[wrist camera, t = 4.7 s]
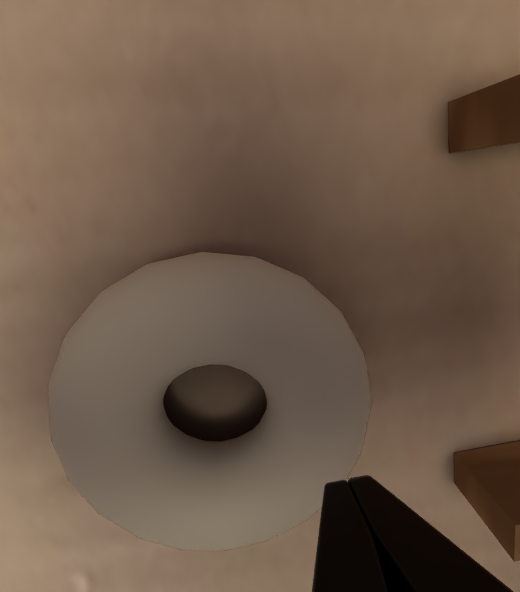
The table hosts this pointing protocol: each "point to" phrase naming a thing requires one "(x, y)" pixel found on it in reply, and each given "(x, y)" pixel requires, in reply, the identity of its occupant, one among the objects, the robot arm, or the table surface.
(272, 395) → the donut
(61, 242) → the table surface
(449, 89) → the table surface
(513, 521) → the carrier cradle
